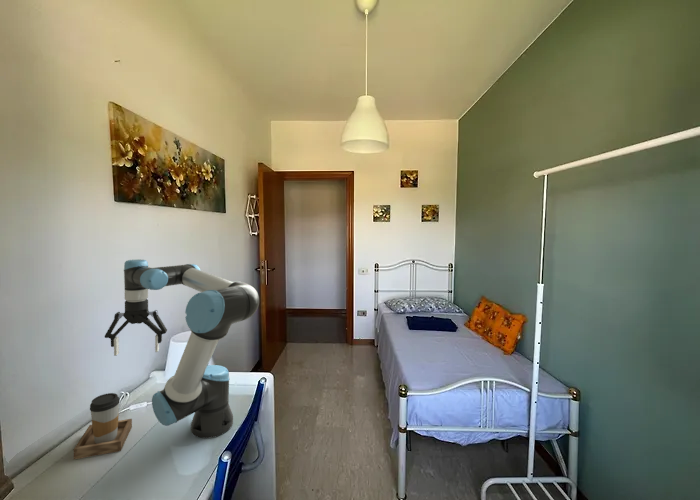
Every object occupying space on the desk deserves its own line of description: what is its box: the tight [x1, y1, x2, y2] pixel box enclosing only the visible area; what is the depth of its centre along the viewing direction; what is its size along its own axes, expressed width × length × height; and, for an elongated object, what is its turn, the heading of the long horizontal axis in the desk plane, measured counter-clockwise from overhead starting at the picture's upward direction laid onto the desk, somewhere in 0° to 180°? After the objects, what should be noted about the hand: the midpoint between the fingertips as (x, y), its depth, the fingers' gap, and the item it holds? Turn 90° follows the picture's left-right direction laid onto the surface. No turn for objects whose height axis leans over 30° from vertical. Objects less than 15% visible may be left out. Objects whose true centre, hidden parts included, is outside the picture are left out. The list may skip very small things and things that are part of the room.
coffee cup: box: [89, 392, 121, 444], centre depth 111 cm, size 8×8×15 cm
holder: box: [72, 418, 133, 460], centre depth 112 cm, size 13×13×4 cm
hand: (137, 352), depth 124 cm, fingers open, 13 cm apart
